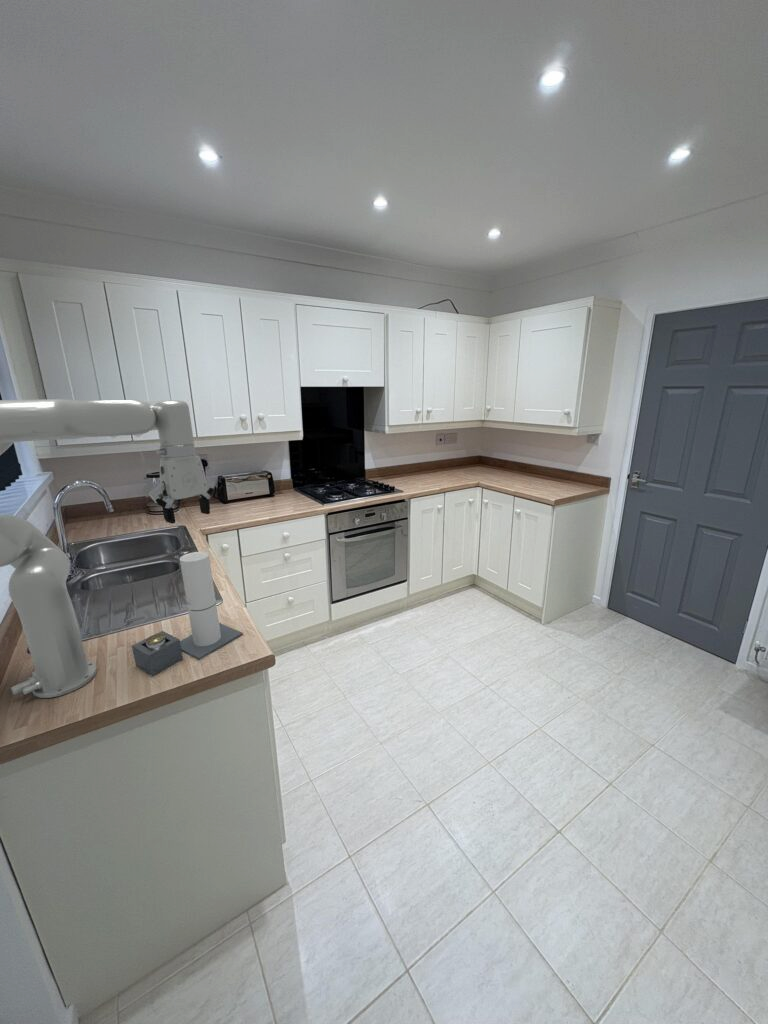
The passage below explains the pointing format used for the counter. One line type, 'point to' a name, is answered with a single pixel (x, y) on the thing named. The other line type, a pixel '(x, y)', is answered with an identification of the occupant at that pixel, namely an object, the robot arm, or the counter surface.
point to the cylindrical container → (200, 598)
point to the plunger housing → (157, 655)
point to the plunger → (155, 641)
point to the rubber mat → (203, 651)
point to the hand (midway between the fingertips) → (188, 517)
